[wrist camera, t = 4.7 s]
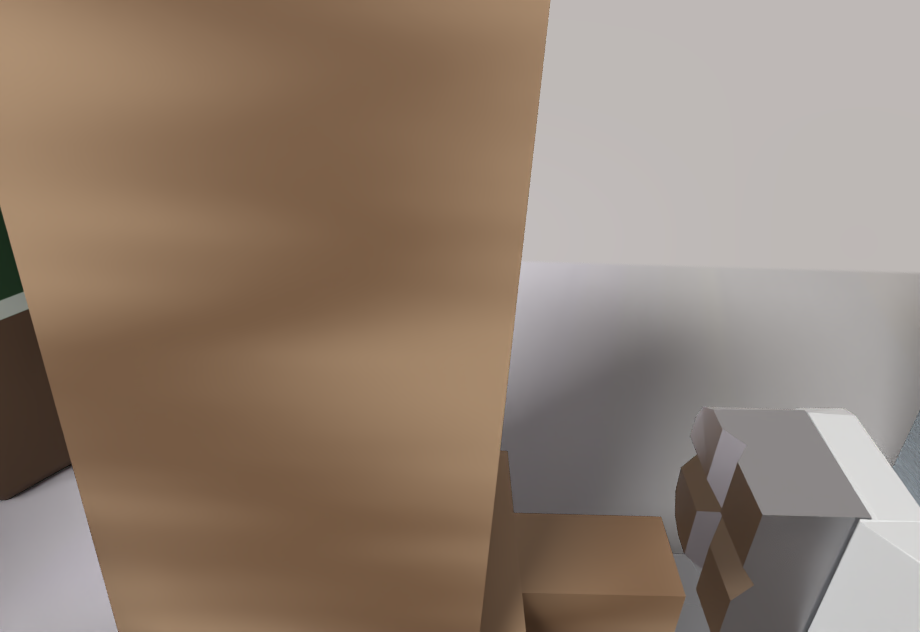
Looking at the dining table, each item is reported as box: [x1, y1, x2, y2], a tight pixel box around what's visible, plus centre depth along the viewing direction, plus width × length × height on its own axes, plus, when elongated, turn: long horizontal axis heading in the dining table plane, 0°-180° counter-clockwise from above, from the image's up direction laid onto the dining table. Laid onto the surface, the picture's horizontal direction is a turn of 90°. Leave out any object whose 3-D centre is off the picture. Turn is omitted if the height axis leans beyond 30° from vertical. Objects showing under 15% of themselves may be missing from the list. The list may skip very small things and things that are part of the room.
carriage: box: [0, 0, 686, 632], centre depth 10 cm, size 8×4×12 cm, turn 91°
